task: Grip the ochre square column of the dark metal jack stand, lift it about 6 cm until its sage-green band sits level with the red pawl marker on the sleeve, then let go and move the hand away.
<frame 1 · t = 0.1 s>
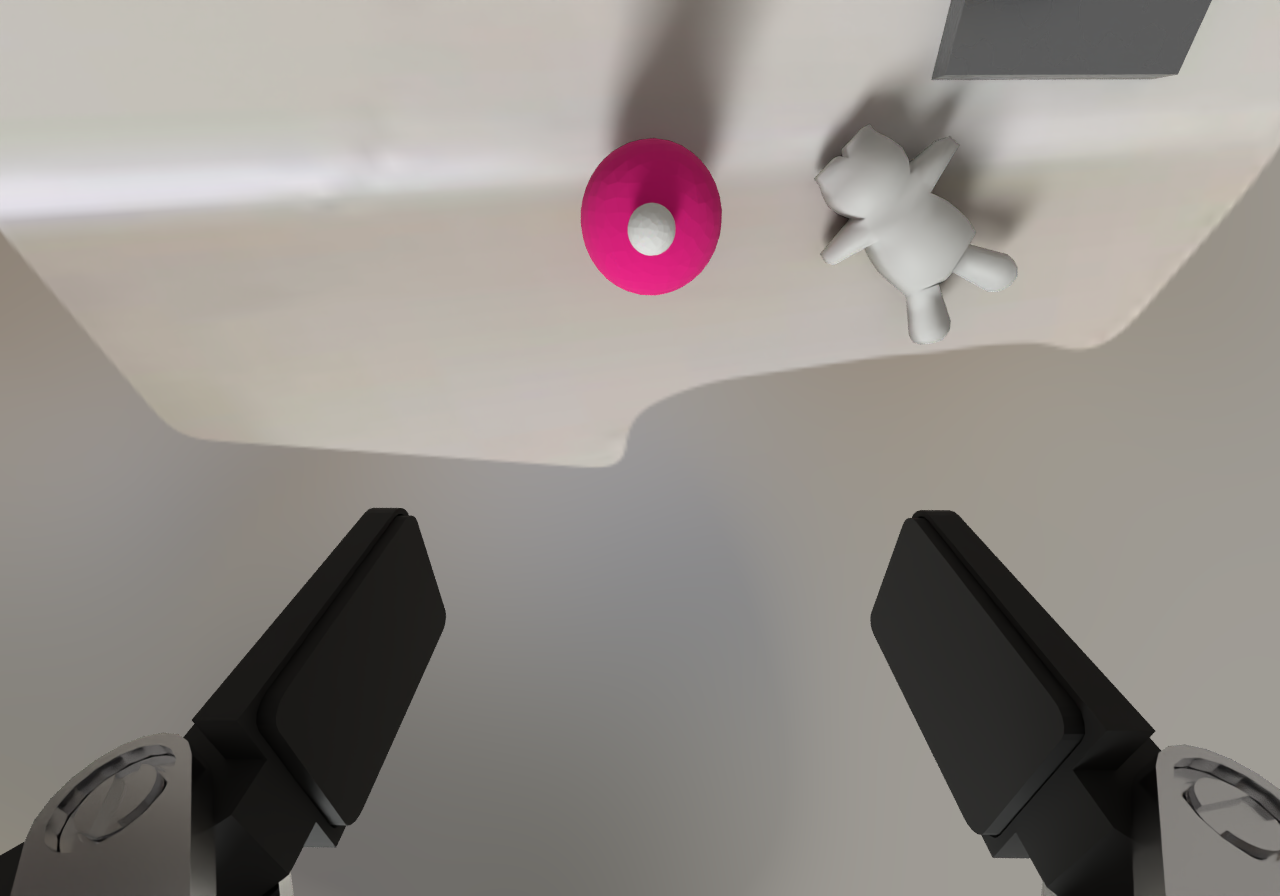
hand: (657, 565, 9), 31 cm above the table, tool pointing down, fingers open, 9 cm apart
grey toy animal: (891, 232, 35), on the table
pepper mill: (649, 202, 34), on the table
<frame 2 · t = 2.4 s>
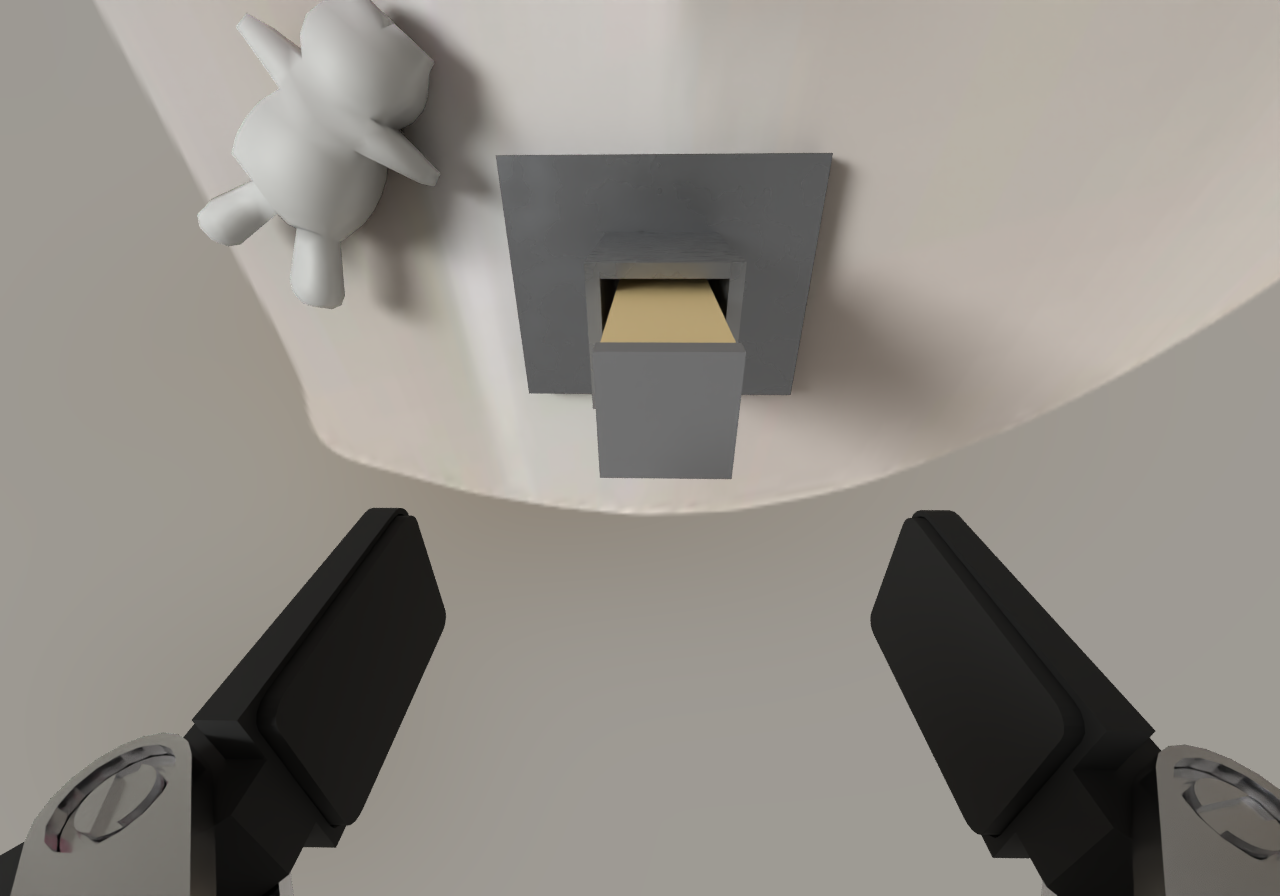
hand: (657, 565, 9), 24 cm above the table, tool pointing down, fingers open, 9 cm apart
grey toy animal: (351, 159, 27), on the table
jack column: (662, 335, 21), point 10 cm above the table, slide at 0.0 cm
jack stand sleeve: (660, 283, 30), on the table
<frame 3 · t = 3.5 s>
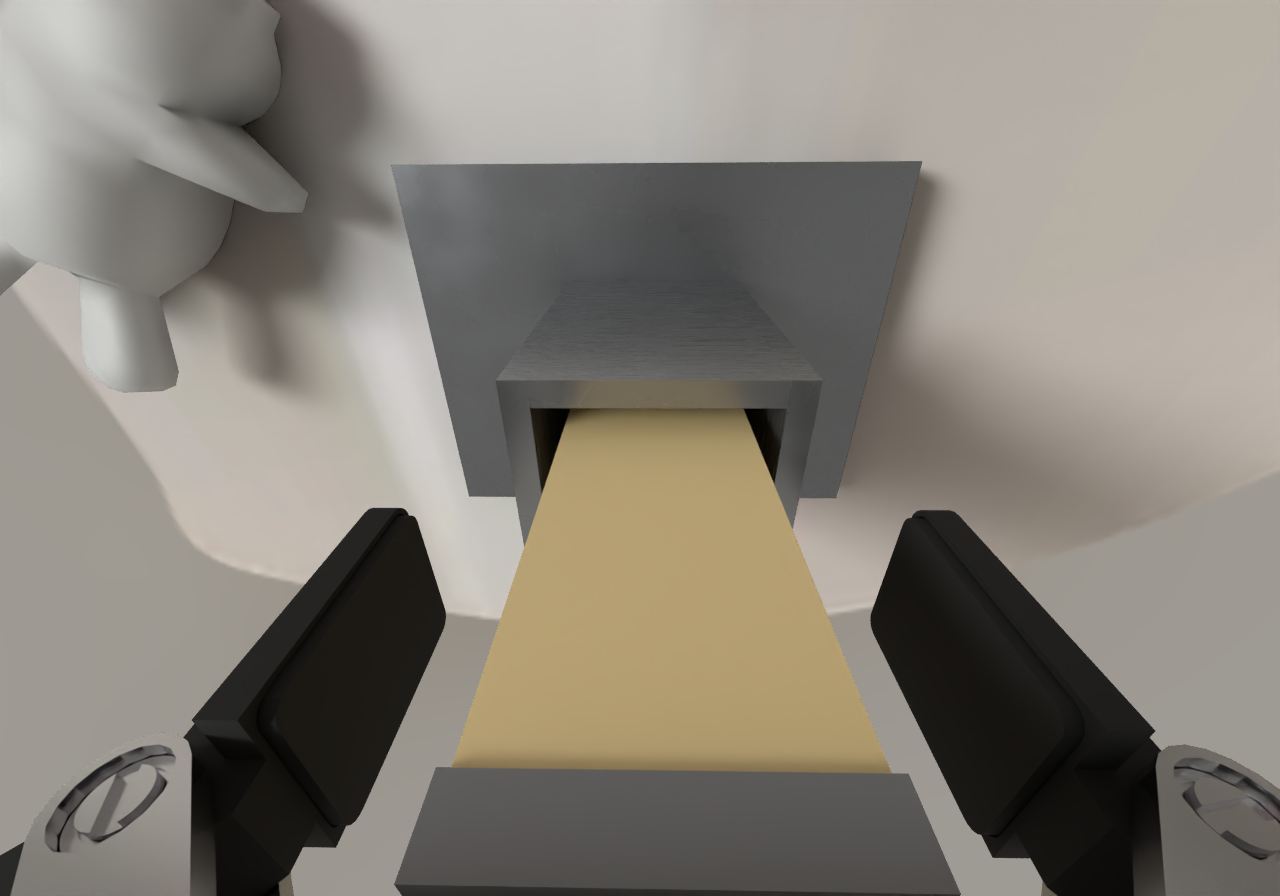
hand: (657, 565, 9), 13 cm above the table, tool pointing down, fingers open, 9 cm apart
grey toy animal: (179, 170, 18), on the table
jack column: (655, 484, 12), point 10 cm above the table, slide at 0.0 cm
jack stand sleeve: (652, 348, 21), on the table
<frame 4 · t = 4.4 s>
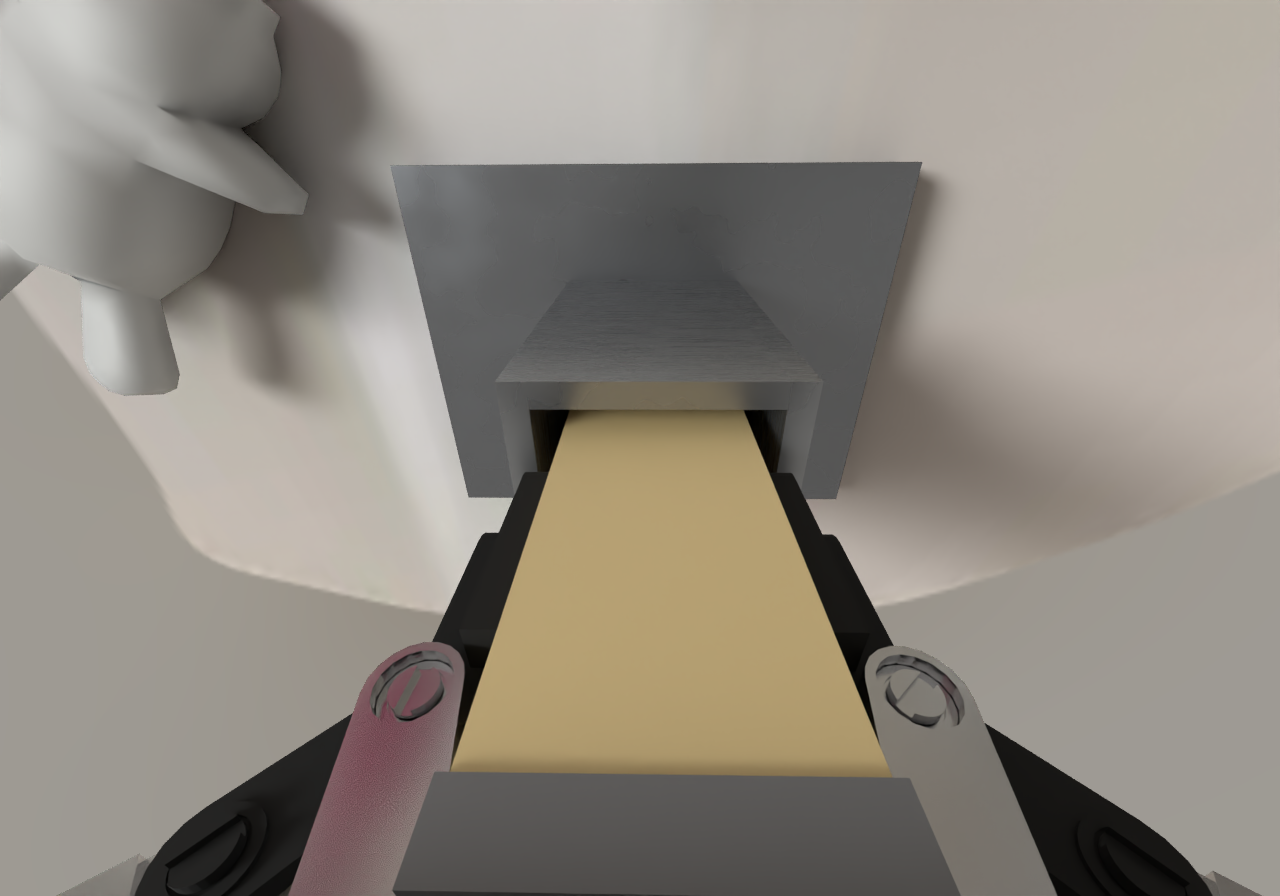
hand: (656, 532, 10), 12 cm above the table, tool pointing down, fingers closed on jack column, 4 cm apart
grey toy animal: (180, 173, 18), on the table
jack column: (655, 485, 12), point 10 cm above the table, slide at 0.0 cm, touching gripper
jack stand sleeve: (652, 349, 21), on the table
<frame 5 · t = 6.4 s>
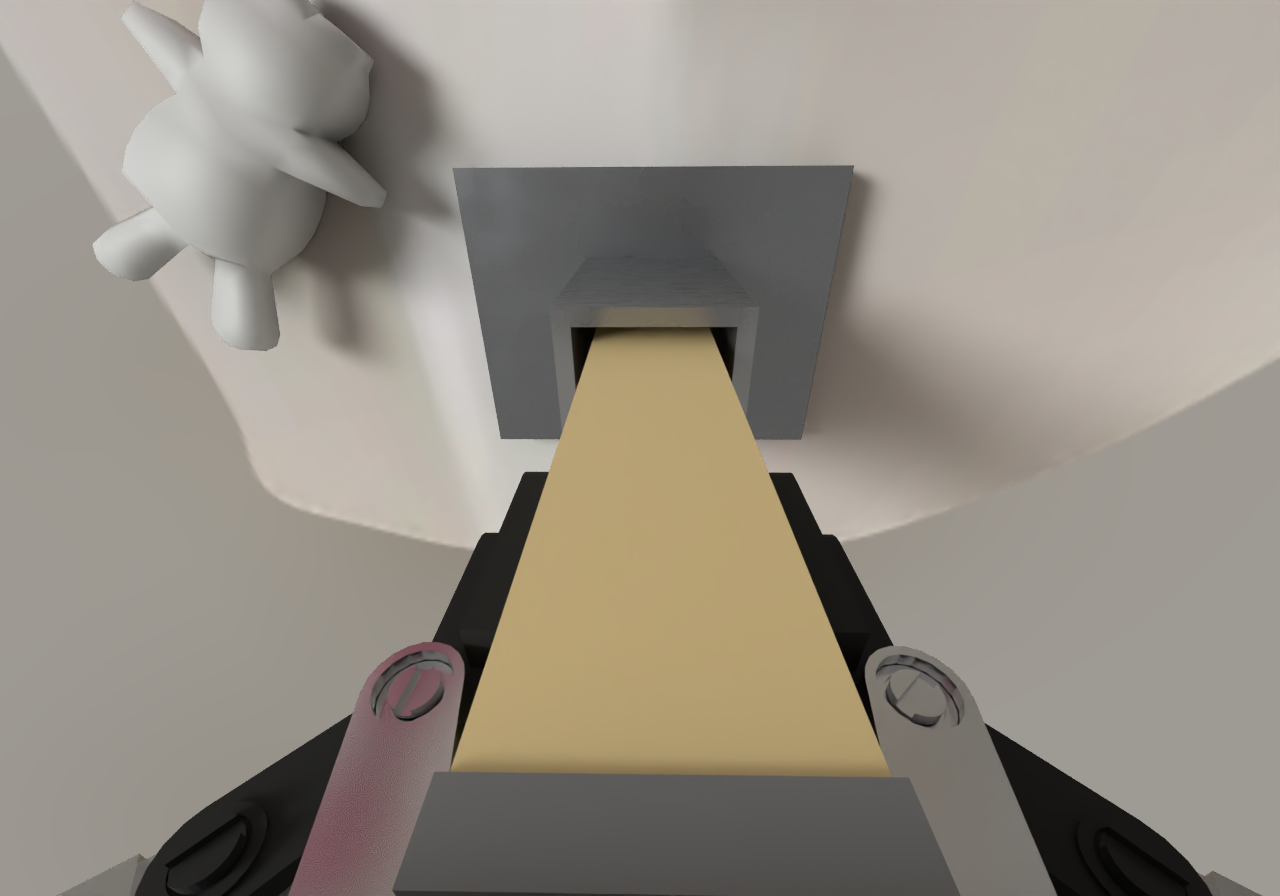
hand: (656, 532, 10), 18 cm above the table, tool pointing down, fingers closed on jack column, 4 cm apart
grey toy animal: (284, 176, 23), on the table
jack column: (655, 485, 12), point 16 cm above the table, slide at 5.9 cm, touching gripper
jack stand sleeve: (650, 314, 26), on the table
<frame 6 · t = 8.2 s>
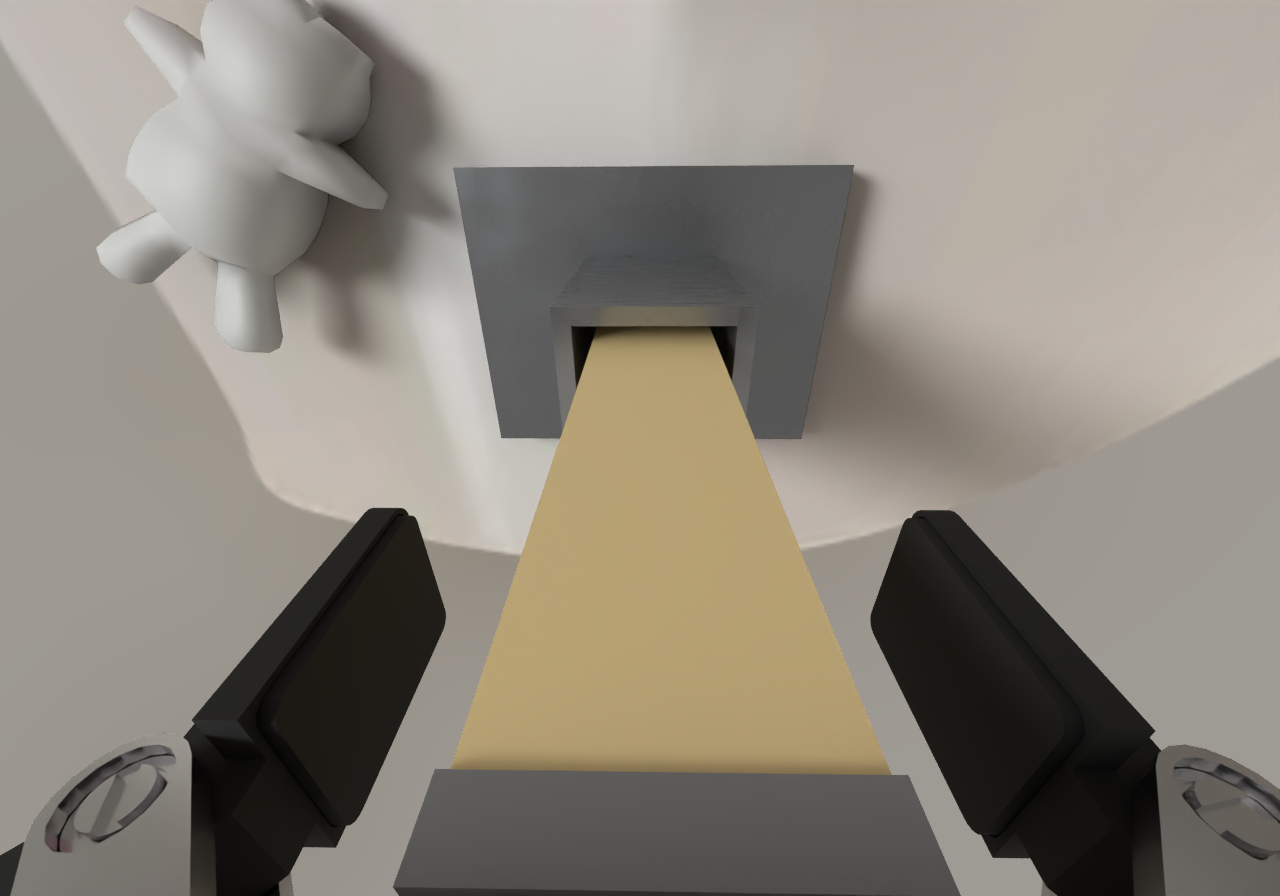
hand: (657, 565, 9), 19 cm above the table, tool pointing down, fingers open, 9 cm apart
grey toy animal: (286, 179, 23), on the table
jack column: (655, 484, 12), point 16 cm above the table, slide at 6.0 cm
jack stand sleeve: (651, 314, 26), on the table
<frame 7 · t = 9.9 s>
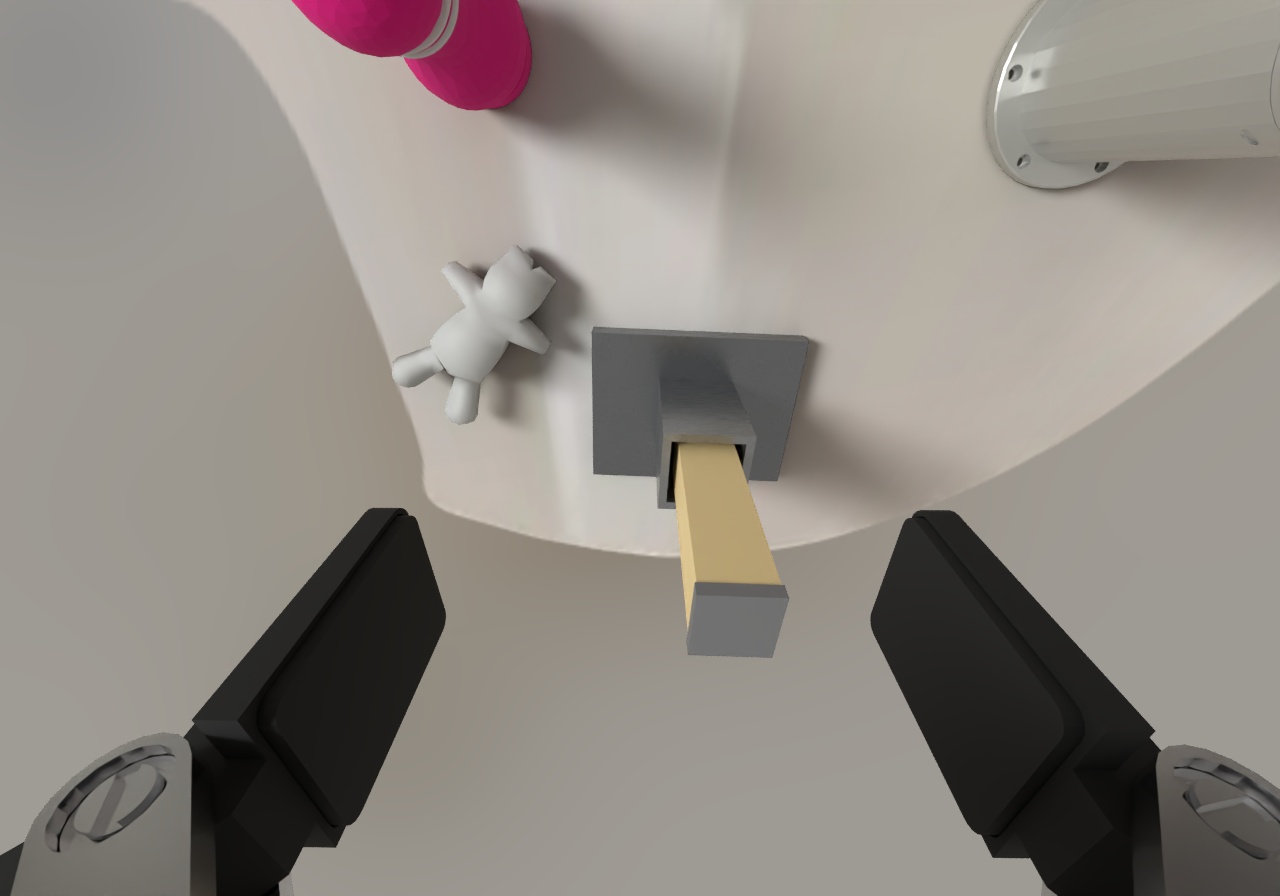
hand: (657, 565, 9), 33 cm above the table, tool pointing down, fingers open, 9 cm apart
grey toy animal: (488, 326, 40), on the table
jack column: (713, 517, 29), point 16 cm above the table, slide at 6.0 cm
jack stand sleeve: (690, 405, 43), on the table
pepper mill: (485, 51, 31), on the table
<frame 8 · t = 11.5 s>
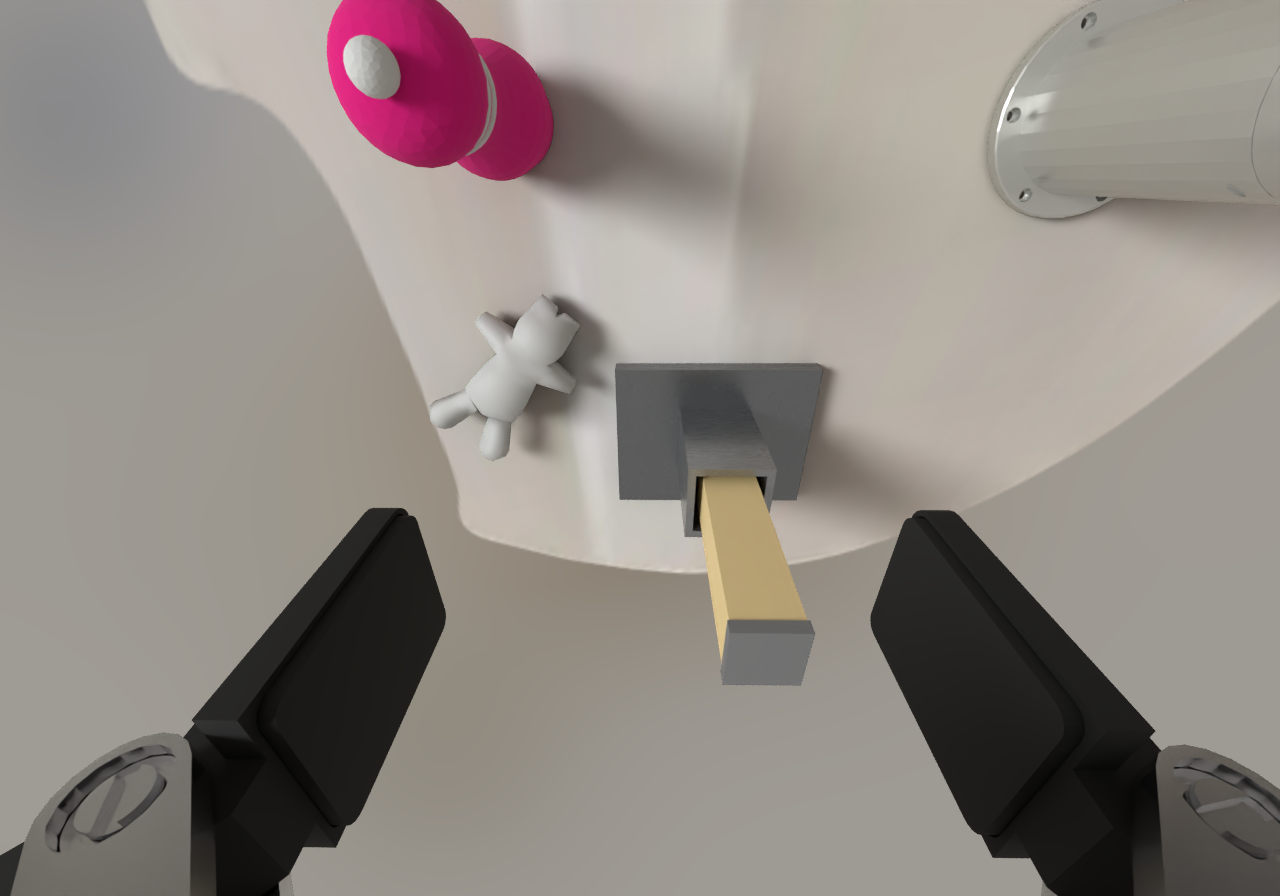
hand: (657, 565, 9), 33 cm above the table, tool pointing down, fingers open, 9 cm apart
grey toy animal: (516, 368, 43), on the table
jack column: (739, 549, 31), point 16 cm above the table, slide at 6.0 cm
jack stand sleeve: (710, 432, 45), on the table
pepper mill: (510, 121, 33), on the table
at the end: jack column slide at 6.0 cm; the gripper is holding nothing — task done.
